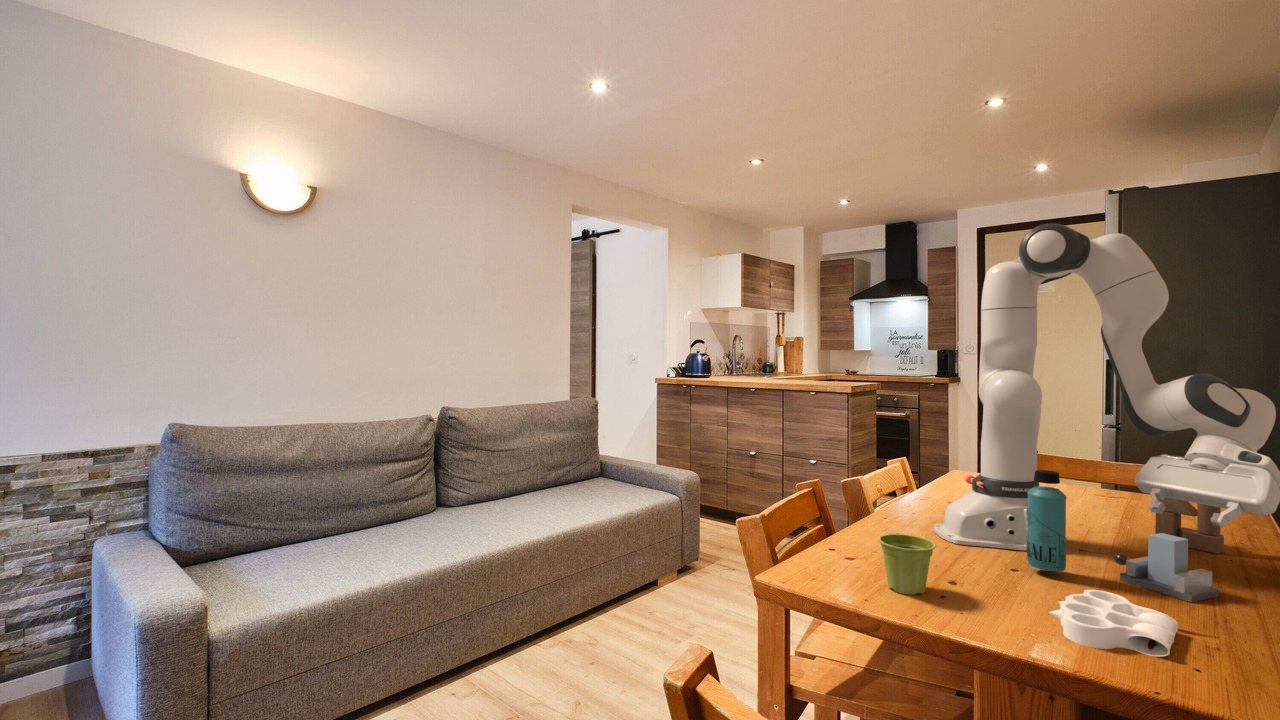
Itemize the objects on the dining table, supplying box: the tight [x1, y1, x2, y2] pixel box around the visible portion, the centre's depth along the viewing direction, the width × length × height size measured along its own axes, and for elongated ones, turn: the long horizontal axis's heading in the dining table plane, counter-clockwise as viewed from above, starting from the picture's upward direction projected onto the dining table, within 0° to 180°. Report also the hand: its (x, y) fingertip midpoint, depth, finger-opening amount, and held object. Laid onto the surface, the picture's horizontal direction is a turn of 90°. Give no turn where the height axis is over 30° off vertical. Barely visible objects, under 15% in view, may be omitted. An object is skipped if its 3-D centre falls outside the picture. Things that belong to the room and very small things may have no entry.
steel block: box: [1147, 533, 1189, 586], centre depth 107 cm, size 4×4×8 cm
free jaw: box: [1113, 553, 1148, 577], centre depth 113 cm, size 8×6×3 cm
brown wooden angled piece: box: [1154, 497, 1225, 555], centre depth 131 cm, size 4×11×18 cm, turn 29°
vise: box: [1119, 568, 1220, 603], centre depth 107 cm, size 8×11×4 cm
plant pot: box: [878, 533, 936, 596], centre depth 107 cm, size 9×9×9 cm
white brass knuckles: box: [1048, 589, 1179, 658], centre depth 91 cm, size 3×18×15 cm
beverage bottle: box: [1026, 469, 1067, 572], centre depth 114 cm, size 6×7×20 cm
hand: (1184, 517), depth 109 cm, fingers open, 8 cm apart
